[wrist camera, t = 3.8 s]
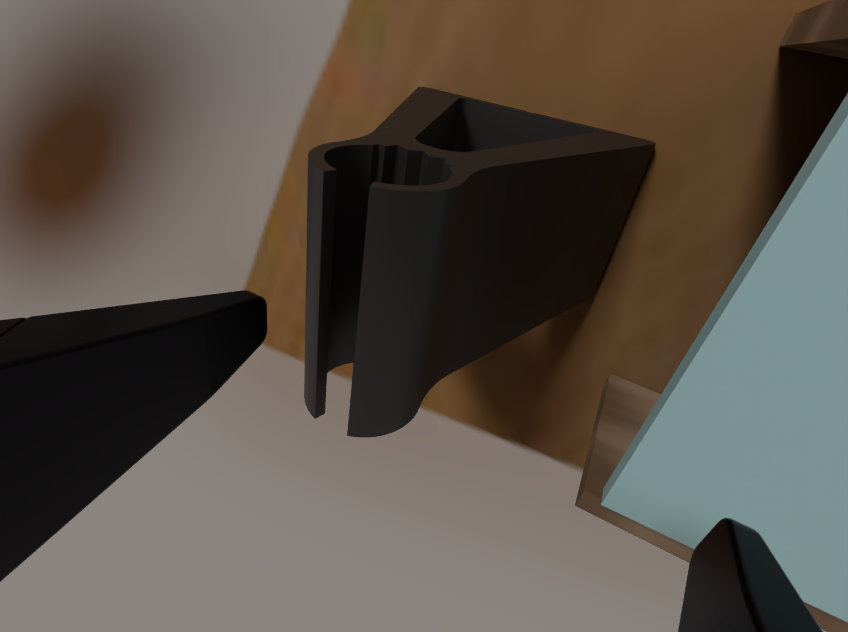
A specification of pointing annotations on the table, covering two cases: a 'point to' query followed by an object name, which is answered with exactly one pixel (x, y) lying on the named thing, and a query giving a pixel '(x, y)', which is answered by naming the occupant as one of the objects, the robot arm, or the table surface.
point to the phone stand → (451, 242)
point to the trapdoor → (764, 397)
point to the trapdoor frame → (631, 404)
